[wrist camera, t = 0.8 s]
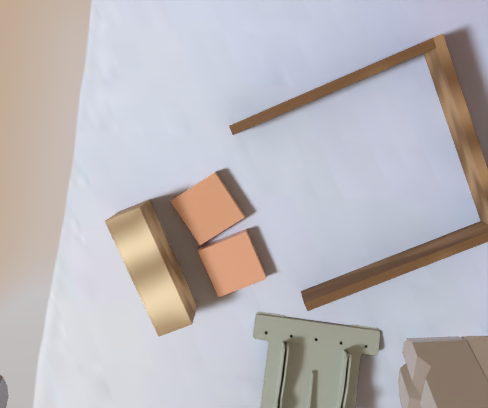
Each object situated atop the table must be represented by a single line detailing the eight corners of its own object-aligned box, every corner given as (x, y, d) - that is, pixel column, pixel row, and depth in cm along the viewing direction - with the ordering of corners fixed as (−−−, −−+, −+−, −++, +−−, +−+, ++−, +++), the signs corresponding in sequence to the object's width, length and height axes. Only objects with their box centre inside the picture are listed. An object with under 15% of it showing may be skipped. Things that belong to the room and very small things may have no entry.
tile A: (266, 273, 54) (266, 278, 52) (219, 291, 54) (218, 297, 52) (246, 228, 53) (246, 231, 51) (199, 246, 53) (197, 251, 52)
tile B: (244, 214, 52) (244, 217, 51) (201, 241, 53) (200, 245, 51) (216, 170, 52) (214, 172, 50) (173, 198, 52) (170, 201, 51)
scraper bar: (197, 305, 54) (192, 324, 49) (167, 317, 55) (158, 336, 50) (150, 199, 52) (139, 207, 47) (118, 211, 52) (104, 221, 48)
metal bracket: (373, 450, 51) (241, 433, 51) (358, 430, 57) (240, 414, 57) (386, 322, 53) (258, 304, 52) (371, 315, 58) (255, 299, 58)
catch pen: (492, 225, 52) (509, 233, 48) (304, 298, 54) (307, 311, 50) (429, 39, 48) (442, 33, 45) (230, 125, 50) (229, 126, 47)
